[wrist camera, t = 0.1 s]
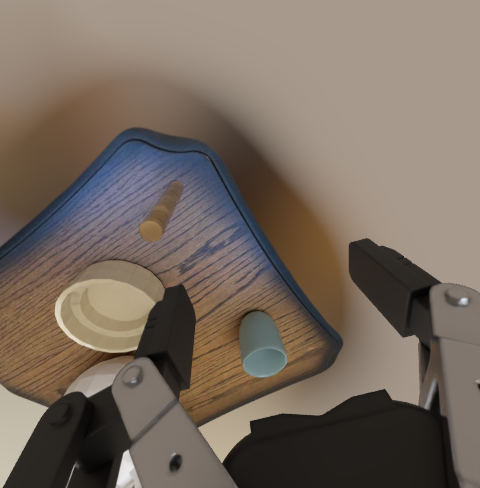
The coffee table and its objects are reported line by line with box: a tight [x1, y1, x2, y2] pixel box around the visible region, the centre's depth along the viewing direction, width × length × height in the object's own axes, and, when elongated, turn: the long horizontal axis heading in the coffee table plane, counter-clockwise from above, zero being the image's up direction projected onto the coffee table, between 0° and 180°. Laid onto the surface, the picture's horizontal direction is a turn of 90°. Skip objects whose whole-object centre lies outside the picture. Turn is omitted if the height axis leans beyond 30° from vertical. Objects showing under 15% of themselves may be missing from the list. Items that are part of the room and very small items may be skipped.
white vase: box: [64, 355, 142, 488], centre depth 40 cm, size 19×18×25 cm
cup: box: [239, 311, 287, 377], centre depth 44 cm, size 8×8×10 cm
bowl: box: [55, 260, 165, 353], centre depth 39 cm, size 16×16×6 cm
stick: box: [139, 181, 184, 242], centre depth 27 cm, size 2×2×16 cm
